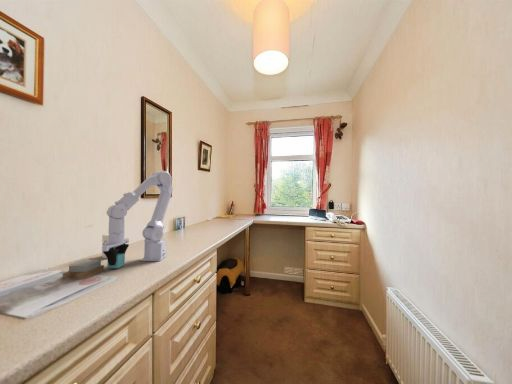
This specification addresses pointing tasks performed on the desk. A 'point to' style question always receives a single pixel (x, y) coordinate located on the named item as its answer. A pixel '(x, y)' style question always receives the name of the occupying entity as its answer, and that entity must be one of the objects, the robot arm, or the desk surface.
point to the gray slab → (84, 266)
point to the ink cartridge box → (104, 243)
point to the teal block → (118, 261)
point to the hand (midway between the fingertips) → (116, 263)
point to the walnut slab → (83, 275)
